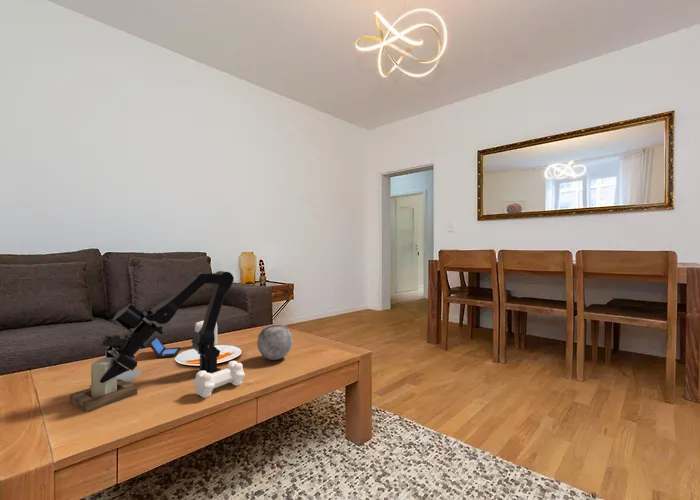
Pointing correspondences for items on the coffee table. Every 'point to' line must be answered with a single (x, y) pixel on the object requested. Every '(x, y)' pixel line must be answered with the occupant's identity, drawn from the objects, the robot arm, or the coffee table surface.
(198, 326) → the photo printer
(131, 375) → the slate mat
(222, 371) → the white bone
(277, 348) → the decorative orb
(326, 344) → the coffee table surface
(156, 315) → the robot arm
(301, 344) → the coffee table surface
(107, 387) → the skincare box
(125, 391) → the walnut holder
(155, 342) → the handheld game console
